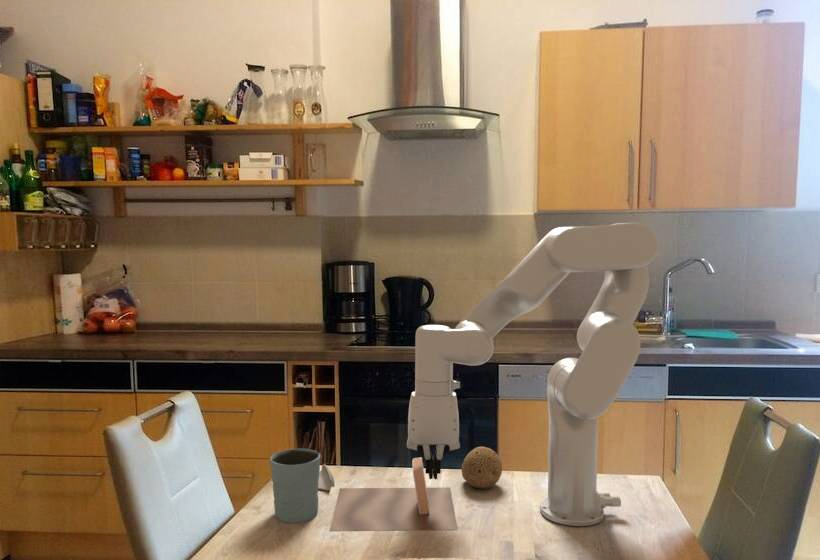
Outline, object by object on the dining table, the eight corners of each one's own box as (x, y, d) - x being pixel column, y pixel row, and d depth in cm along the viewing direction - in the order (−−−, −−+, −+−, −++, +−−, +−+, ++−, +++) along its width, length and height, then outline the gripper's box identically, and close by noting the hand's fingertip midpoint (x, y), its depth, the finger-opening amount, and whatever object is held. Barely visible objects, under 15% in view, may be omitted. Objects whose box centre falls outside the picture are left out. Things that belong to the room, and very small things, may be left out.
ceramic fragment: (338, 496, 140) (338, 478, 140) (314, 499, 138) (314, 481, 138) (327, 474, 153) (326, 458, 153) (305, 476, 152) (305, 460, 151)
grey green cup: (278, 528, 124) (277, 468, 123) (265, 509, 133) (264, 452, 132) (328, 518, 128) (327, 459, 127) (312, 499, 137) (311, 444, 136)
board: (450, 494, 140) (450, 487, 140) (457, 537, 120) (457, 529, 120) (340, 494, 139) (339, 488, 139) (329, 538, 119) (329, 530, 119)
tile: (428, 498, 133) (421, 457, 132) (429, 513, 126) (422, 469, 125) (418, 500, 133) (412, 458, 132) (419, 515, 126) (412, 471, 125)
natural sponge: (502, 501, 136) (502, 455, 135) (460, 499, 137) (460, 454, 136) (501, 484, 145) (501, 441, 144) (461, 483, 146) (462, 440, 145)
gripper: (469, 383, 132) (468, 470, 133) (396, 382, 131) (396, 469, 133) (473, 392, 124) (471, 484, 125) (396, 391, 124) (395, 484, 125)
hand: (432, 476), depth 129 cm, fingers closed
